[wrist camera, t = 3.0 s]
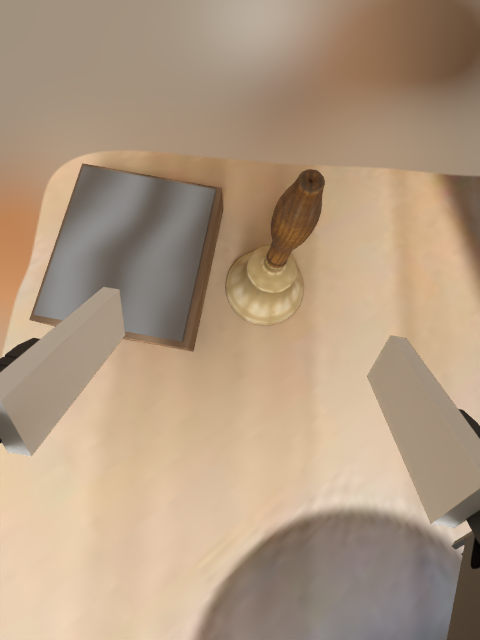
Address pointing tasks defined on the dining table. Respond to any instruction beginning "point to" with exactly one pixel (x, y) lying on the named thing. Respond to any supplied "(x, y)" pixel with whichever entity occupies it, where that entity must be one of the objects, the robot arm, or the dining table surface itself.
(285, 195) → the hand bell
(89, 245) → the walnut stand
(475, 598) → the robot arm
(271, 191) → the dining table surface
